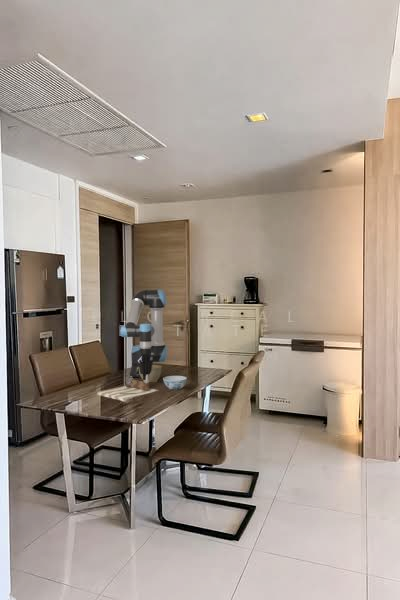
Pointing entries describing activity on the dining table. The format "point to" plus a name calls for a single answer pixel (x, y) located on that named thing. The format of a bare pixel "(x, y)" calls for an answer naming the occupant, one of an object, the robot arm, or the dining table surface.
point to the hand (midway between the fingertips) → (145, 384)
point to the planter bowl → (153, 373)
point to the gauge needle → (136, 383)
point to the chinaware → (174, 382)
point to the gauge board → (124, 393)
